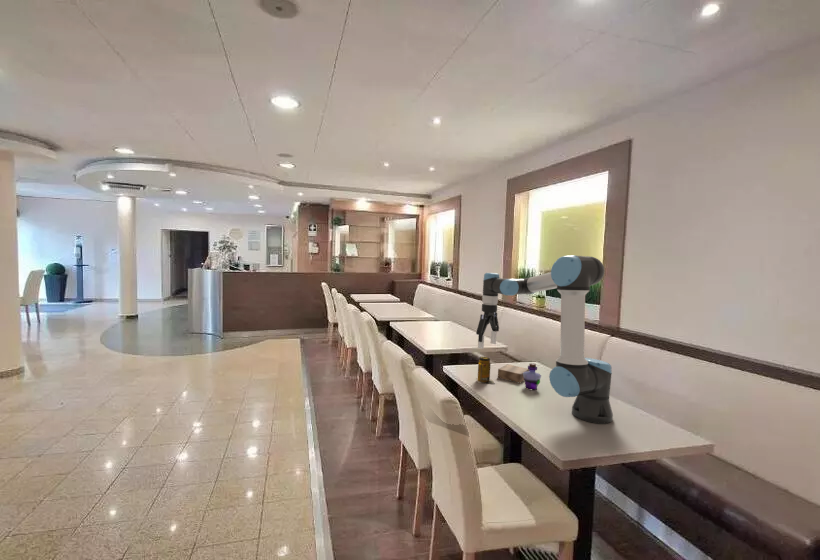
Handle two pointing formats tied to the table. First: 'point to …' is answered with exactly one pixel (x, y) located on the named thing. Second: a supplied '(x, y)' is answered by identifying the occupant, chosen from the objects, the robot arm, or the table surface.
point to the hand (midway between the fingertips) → (487, 345)
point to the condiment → (484, 371)
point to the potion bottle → (531, 377)
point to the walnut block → (512, 373)
